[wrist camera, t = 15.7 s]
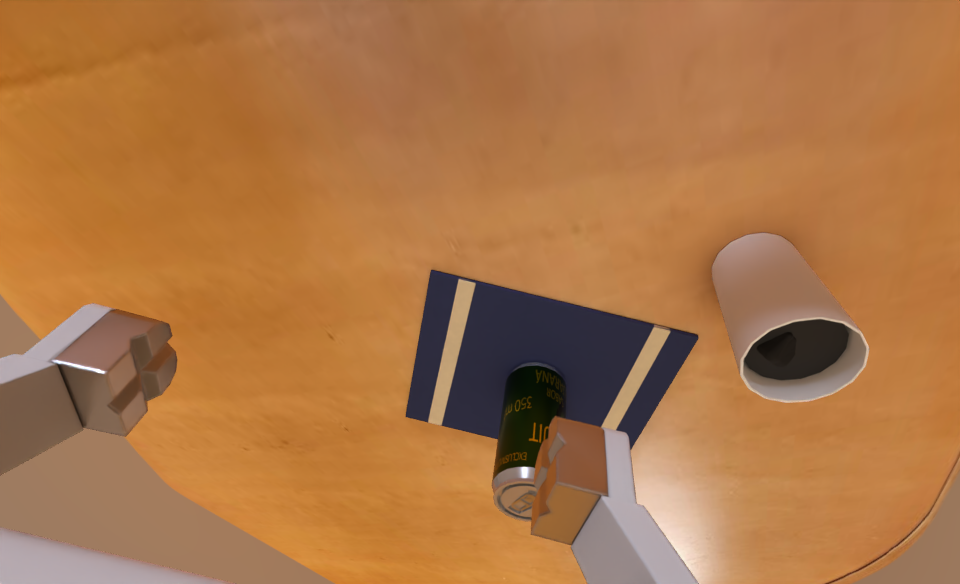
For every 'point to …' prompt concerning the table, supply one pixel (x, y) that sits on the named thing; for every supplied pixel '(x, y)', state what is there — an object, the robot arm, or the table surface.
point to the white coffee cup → (784, 322)
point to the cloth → (536, 357)
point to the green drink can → (524, 434)
